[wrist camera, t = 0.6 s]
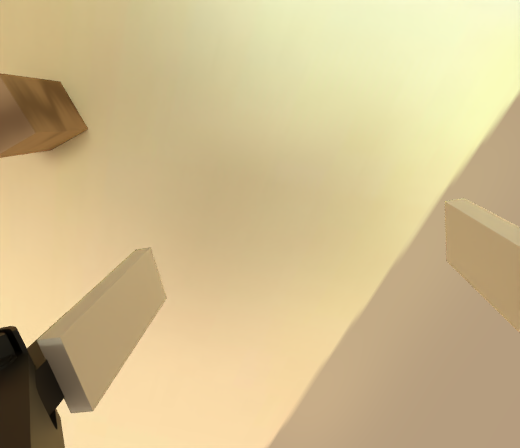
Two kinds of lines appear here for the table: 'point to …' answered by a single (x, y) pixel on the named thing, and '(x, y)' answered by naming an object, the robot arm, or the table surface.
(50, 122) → the walnut block
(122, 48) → the table surface
